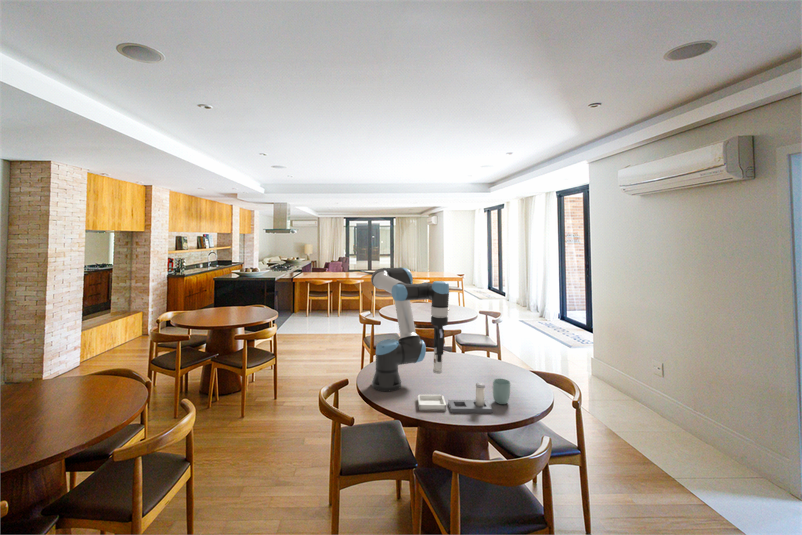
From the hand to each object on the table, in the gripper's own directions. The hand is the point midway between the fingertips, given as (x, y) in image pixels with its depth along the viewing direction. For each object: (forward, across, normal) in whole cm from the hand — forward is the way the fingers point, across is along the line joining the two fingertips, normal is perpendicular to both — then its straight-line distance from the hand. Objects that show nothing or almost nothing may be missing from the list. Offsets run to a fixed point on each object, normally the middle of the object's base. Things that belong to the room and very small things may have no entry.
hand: (437, 366), depth 159 cm
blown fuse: (+3, 0, 0) cm, 3 cm away
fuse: (+18, -4, -19) cm, 26 cm away
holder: (+18, -4, -14) cm, 23 cm away
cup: (+18, +1, -31) cm, 36 cm away
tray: (+18, -1, +2) cm, 18 cm away
